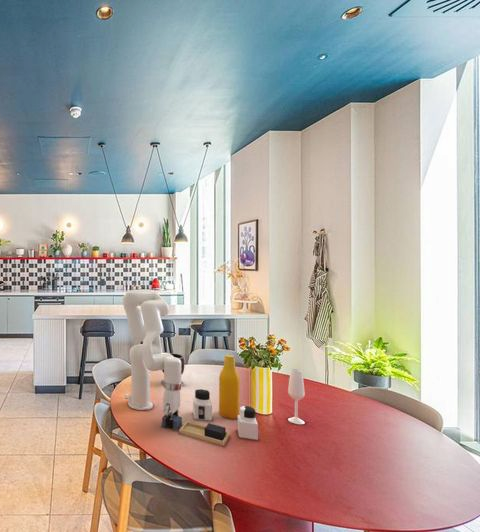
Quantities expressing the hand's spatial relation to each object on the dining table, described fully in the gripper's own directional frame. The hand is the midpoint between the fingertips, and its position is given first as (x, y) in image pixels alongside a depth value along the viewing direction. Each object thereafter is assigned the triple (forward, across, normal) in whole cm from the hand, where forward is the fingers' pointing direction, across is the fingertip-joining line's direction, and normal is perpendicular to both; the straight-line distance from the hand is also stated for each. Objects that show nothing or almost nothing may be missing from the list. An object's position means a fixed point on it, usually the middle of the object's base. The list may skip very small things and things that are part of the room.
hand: (171, 424), depth 156 cm
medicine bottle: (+1, -11, +29) cm, 31 cm away
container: (+1, -18, +8) cm, 20 cm away
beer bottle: (+1, -28, +18) cm, 33 cm away
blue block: (+1, 0, 0) cm, 1 cm away
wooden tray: (+1, 0, +14) cm, 14 cm away
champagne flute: (+1, -40, +45) cm, 60 cm away
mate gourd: (+1, -55, -21) cm, 59 cm away
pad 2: (0, 0, +19) cm, 19 cm away
